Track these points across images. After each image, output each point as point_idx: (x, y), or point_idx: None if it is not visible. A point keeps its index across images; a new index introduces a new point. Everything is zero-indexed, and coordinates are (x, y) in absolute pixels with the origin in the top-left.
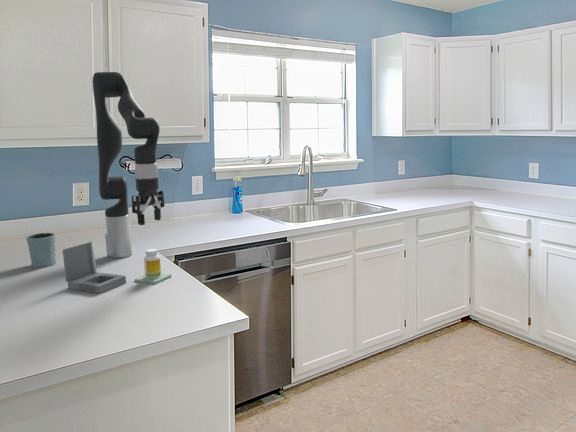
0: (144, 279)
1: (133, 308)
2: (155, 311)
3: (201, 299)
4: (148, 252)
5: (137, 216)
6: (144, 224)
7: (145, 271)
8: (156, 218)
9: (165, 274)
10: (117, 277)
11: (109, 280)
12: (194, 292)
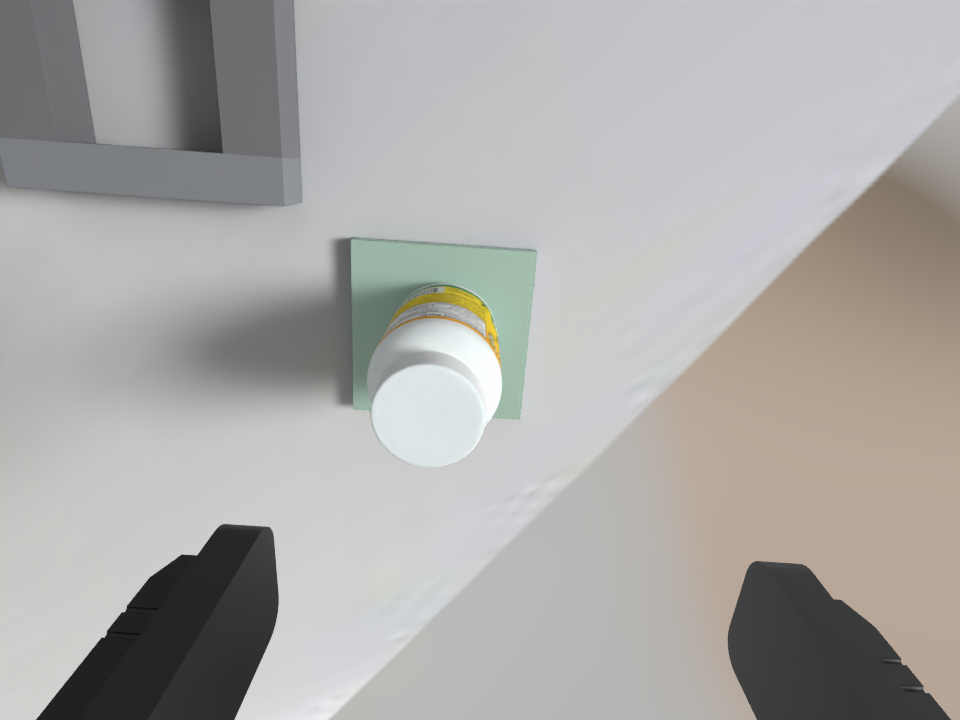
0: (369, 315)
1: (5, 516)
2: (39, 617)
3: (255, 703)
4: (371, 417)
5: (44, 710)
6: (273, 617)
7: (393, 317)
8: (760, 617)
9: (509, 384)
10: (226, 170)
11: (142, 159)
12: (321, 643)
